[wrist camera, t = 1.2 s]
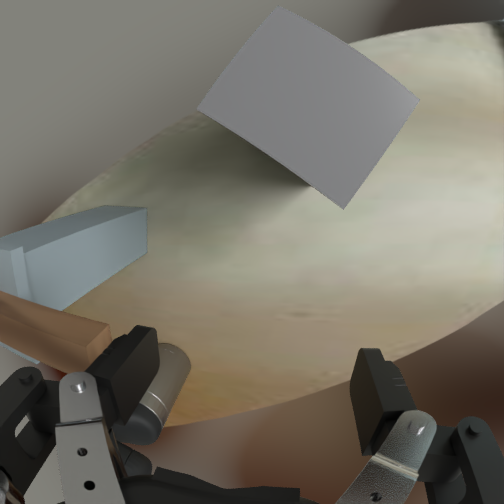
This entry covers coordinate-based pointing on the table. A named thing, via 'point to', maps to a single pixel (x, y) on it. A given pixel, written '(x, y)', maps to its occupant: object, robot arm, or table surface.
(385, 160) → the table surface
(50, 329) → the brown wooden bar
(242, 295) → the table surface
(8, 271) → the tall plinth
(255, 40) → the grey tall block
